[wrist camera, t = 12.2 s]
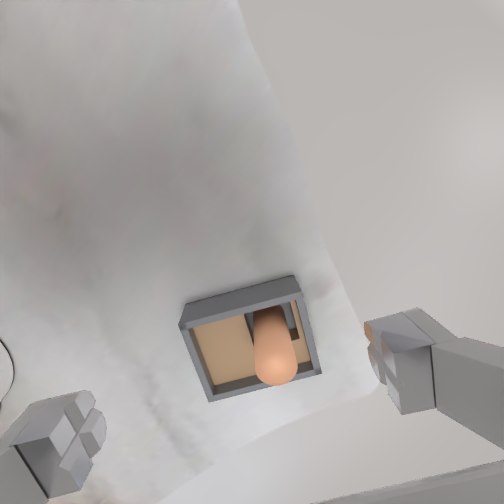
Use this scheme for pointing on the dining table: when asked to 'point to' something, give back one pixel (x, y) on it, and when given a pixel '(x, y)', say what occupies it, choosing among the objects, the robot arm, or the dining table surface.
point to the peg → (273, 347)
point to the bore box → (243, 336)
